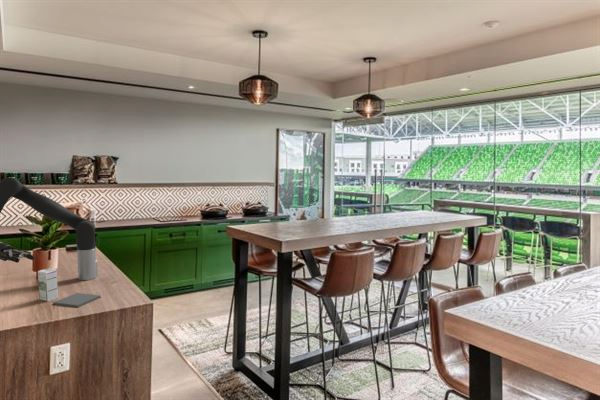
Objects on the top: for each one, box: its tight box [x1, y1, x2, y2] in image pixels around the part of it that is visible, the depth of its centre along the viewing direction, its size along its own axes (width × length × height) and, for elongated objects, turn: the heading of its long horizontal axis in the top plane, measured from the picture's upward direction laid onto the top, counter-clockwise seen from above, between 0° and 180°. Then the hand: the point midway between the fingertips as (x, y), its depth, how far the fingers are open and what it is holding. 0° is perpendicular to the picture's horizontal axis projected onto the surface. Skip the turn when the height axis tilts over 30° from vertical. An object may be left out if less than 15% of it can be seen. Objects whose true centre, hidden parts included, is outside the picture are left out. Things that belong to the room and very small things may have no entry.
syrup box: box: [37, 268, 59, 302], centre depth 186 cm, size 6×6×14 cm
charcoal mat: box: [52, 292, 102, 308], centre depth 185 cm, size 14×14×1 cm
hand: (26, 259), depth 188 cm, fingers open, 8 cm apart
